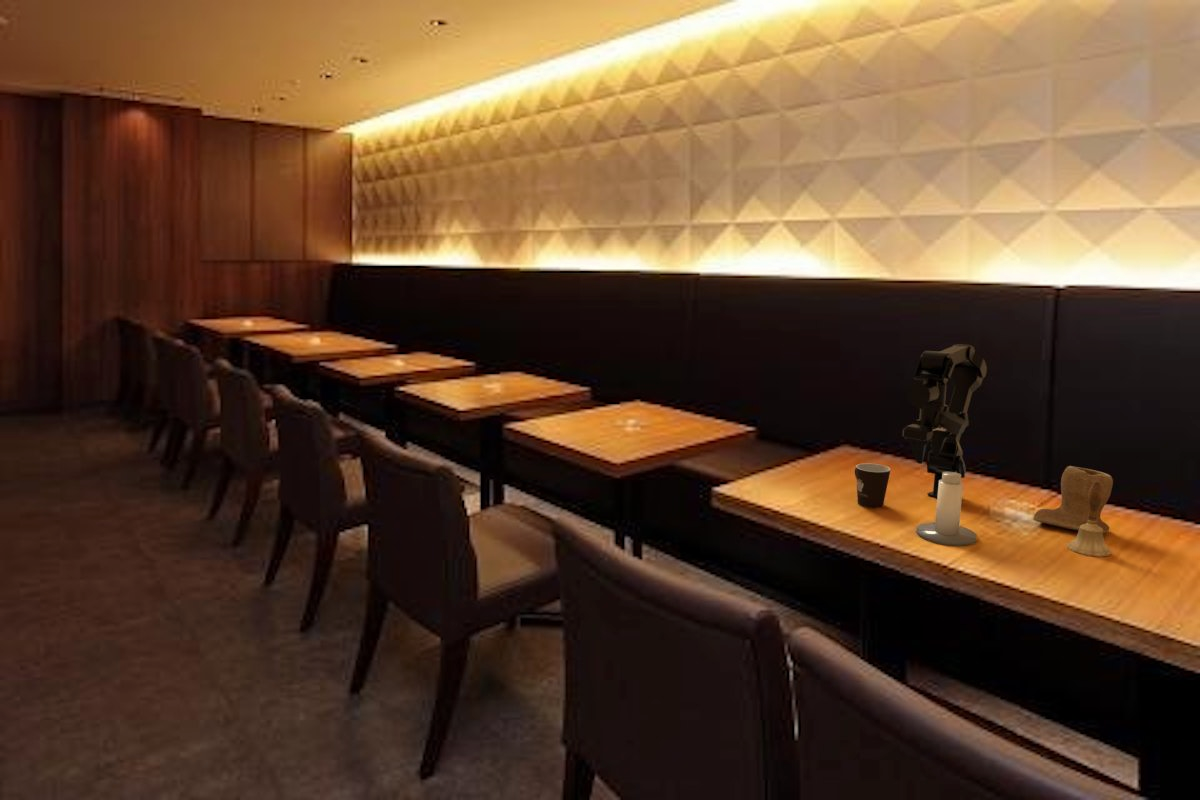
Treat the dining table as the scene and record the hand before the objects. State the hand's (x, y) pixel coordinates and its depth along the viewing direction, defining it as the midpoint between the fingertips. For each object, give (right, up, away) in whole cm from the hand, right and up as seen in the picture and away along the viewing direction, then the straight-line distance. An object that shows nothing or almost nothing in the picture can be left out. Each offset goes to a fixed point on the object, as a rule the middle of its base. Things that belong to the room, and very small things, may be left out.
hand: (928, 460), depth 203 cm
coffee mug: (-13, -12, +6) cm, 19 cm away
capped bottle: (-3, -15, -18) cm, 24 cm away
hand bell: (+25, -18, -26) cm, 41 cm away
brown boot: (+30, -16, -11) cm, 36 cm away
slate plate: (-3, -16, -18) cm, 25 cm away
